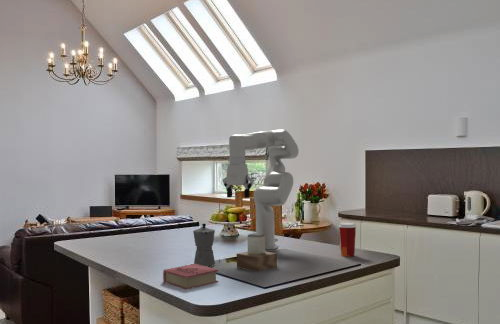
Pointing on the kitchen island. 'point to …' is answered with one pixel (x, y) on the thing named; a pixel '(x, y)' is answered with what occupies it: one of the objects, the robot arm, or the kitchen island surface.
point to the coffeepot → (204, 246)
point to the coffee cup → (347, 239)
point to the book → (190, 276)
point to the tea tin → (256, 243)
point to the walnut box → (257, 261)
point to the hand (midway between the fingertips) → (238, 197)
